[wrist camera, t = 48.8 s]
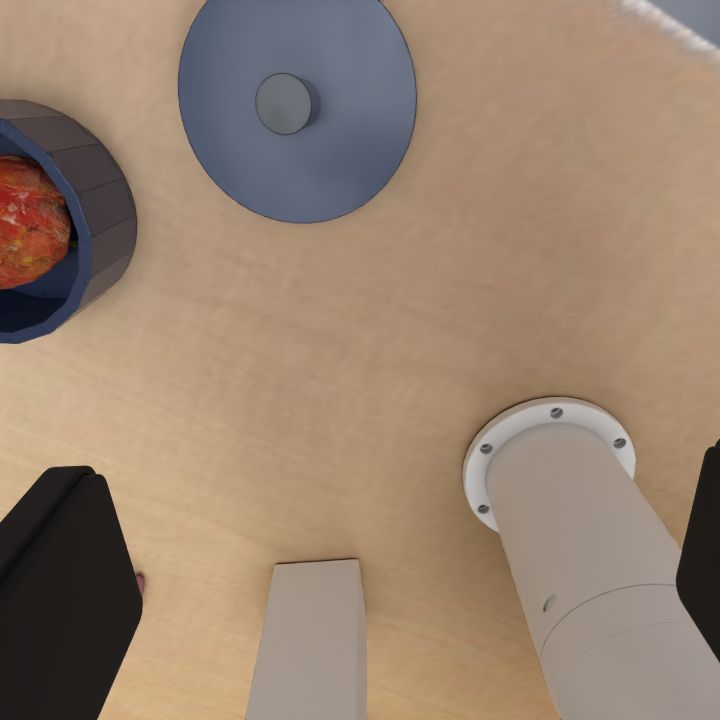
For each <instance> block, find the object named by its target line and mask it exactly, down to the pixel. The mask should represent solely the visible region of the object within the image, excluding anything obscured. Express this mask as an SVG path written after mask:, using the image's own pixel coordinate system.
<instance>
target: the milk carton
mask: <svg viewBox="0 0 720 720" xmlns="http://www.w3.org/2000/svg"><path fill="white" fill-rule="evenodd" d="M245 720H367V620H366V612H365V604H364V596H363V588H362V581H361V573H360V565H359V560H357V559H353V560H338V561H323V562H308V563H294V564H280V565H275V566H274V571H273V576H272V581H271V586H270V592H269V597H268V602H267V607H266V612H265V618H264V623H263V628H262V633H261V638H260V644H259V649H258V654H257V659H256V665H255V670H254V675H253V680H252V685H251V691H250V696H249V701H248V706H247V712H246V717H245Z"/></svg>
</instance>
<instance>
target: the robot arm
mask: <svg viewBox="0 0 720 720" xmlns="http://www.w3.org/2000/svg"><path fill="white" fill-rule="evenodd" d="M635 466H636V457H635V452H634V446H633V444H632V442H631V440H630V438H629V435H628V434H627V432H626V431H625V430H624V428H623V427H622V426H621V424H620V423H619V422H618V421H617V420H616V419H615V418H614V417H613V416H612V415H611V414H610V413H609V412H607V411H605V410H604V409H602V408H601V407H599V406H597V405H595V404H592V403H589V402H587V401H584V400H580V399H574V398H568V397H547V398H541V399H535V400H531V401H528V402H525V403H522V404H519V405H516V406H514V407H512V408H510V409H508V410H506V411H504V412H503V413H501V414H499V415H498V416H497V417H495V418H494V419H493V420H491V421H490V422H489V423H488V424H487V425H486V426H485V427H484V428H483V429H482V430H481V431H480V432H479V433H478V434H477V436H476V437H475V439H474V440H473V442H472V443H471V445H470V447H469V449H468V451H467V454H466V457H465V459H464V464H463V471H462V477H463V487H464V490H465V494H466V498H467V501H468V503H469V505H470V507H471V509H472V511H473V512H474V513H475V514H476V516H477V517H478V518H479V519H480V520H481V521H482V522H483V523H484V524H485V525H487V526H488V527H489V528H490V529H492V530H494V531H496V532H498V533H499V534H500V538H501V541H502V544H503V547H504V551H505V554H506V557H507V560H508V563H509V567H510V570H511V573H512V576H513V580H514V583H515V586H516V589H517V592H518V596H519V599H520V602H521V605H522V608H523V612H524V615H525V618H526V621H527V625H528V628H529V631H530V634H531V637H532V641H533V644H534V647H535V650H536V653H537V657H538V660H539V663H540V666H541V670H542V672H543V675H544V679H545V682H546V685H547V688H548V691H549V694H550V697H551V700H552V702H553V704H554V707H555V709H556V711H557V713H558V714H559V716H560V718H561V720H720V439H719V440H718V441H717V442H716V445H715V447H710V448H708V450H707V451H706V453H705V456H704V460H703V464H702V468H701V472H700V477H699V481H698V485H697V489H696V493H695V498H694V502H693V506H692V510H691V515H690V519H689V523H688V527H687V531H686V536H685V540H684V544H683V548H682V549H681V548H680V547H679V545H678V544H677V542H676V541H675V539H674V538H673V537H672V535H671V534H670V532H669V531H668V530H667V528H666V527H665V525H664V524H663V522H662V521H661V520H660V518H659V517H658V515H657V514H656V513H655V511H654V510H653V508H652V507H651V505H650V504H649V503H648V501H647V500H646V498H645V497H644V496H643V494H642V493H641V491H640V490H639V488H638V487H637V486H636V484H635V483H634V481H633V478H634V475H635ZM142 607H143V602H142V595H141V592H140V589H139V586H138V582H137V579H136V576H135V573H134V569H133V566H132V563H131V559H130V556H129V553H128V550H127V546H126V543H125V540H124V537H123V533H122V530H121V527H120V524H119V520H118V517H117V514H116V511H115V507H114V504H113V501H112V497H111V494H110V491H109V488H108V484H107V482H106V479H105V478H104V476H103V475H100V474H96V473H95V471H94V470H93V469H92V468H91V467H90V466H65V467H52V468H48V469H47V470H46V471H45V472H44V473H43V474H42V475H41V476H40V477H39V479H38V480H37V481H36V482H35V483H34V484H33V485H32V487H31V488H30V489H29V490H28V491H27V492H26V494H25V495H24V496H23V497H22V498H21V499H20V501H19V502H18V503H17V504H16V505H15V506H14V507H13V509H12V510H11V511H10V512H9V513H8V514H7V516H6V517H5V518H4V519H3V520H2V521H1V522H0V720H97V719H98V717H99V714H100V712H101V710H102V707H103V705H104V703H105V701H106V698H107V696H108V694H109V691H110V689H111V687H112V684H113V682H114V680H115V677H116V675H117V673H118V671H119V668H120V666H121V664H122V661H123V659H124V657H125V654H126V652H127V650H128V647H129V645H130V643H131V641H132V638H133V636H134V634H135V631H136V629H137V627H138V624H139V622H140V619H141V615H142Z"/></svg>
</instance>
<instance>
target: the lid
mask: <svg viewBox="0 0 720 720" xmlns="http://www.w3.org/2000/svg"><path fill="white" fill-rule="evenodd" d="M178 97H179V106H180V113H181V117H182V121H183V125H184V129H185V132H186V134H187V137H188V140H189V143H190V145H191V147H192V149H193V151H194V153H195V155H196V157H197V159H198V160H199V162H200V163H201V165H202V166H203V168H204V170H205V171H206V172H207V174H208V175H209V176H210V177H211V178H212V180H213V181H214V182H215V183H216V184H217V185H218V186H219V187H220V188H221V189H222V190H223V191H224V192H225V193H226V194H227V195H228V196H230V197H231V198H232V199H234V200H235V201H236V202H238V203H239V204H240V205H242V206H244V207H246V208H247V209H249V210H251V211H253V212H255V213H257V214H260V215H262V216H264V217H267V218H271V219H274V220H278V221H282V222H289V223H316V222H324V221H328V220H331V219H335V218H338V217H341V216H343V215H346V214H348V213H350V212H352V211H354V210H356V209H357V208H359V207H361V206H363V205H364V204H365V203H366V202H368V201H369V200H370V199H372V198H373V197H374V196H375V195H376V194H377V193H378V192H379V191H380V190H381V189H382V188H383V187H384V186H385V185H386V184H387V183H388V181H389V180H390V179H391V177H392V176H393V175H394V173H395V172H396V170H397V168H398V167H399V165H400V163H401V162H402V160H403V157H404V155H405V153H406V150H407V148H408V146H409V143H410V139H411V136H412V132H413V128H414V122H415V116H416V103H417V92H416V78H415V73H414V68H413V63H412V59H411V56H410V53H409V50H408V47H407V44H406V42H405V40H404V37H403V35H402V33H401V31H400V29H399V27H398V25H397V24H396V22H395V21H394V19H393V17H392V16H391V14H390V13H389V11H388V10H387V9H386V8H385V7H384V5H383V4H382V3H381V2H380V0H207V2H206V3H205V4H204V6H203V7H202V8H201V10H200V11H199V13H198V15H197V16H196V18H195V20H194V22H193V23H192V25H191V27H190V30H189V32H188V35H187V37H186V40H185V43H184V46H183V50H182V54H181V58H180V65H179V73H178Z"/></svg>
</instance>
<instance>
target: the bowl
mask: <svg viewBox="0 0 720 720" xmlns="http://www.w3.org/2000/svg"><path fill="white" fill-rule="evenodd" d="M0 154H13V155H17V156H20V157H24V158H28V159H31V160H33V161H34V162H36V163H37V164H39V165H40V166H42V168H43V169H44V170H45V172H46V173H47V174H48V176H49V177H50V178H51V180H52V181H53V182H54V184H55V185H56V187H57V188H58V189H59V191H60V192H61V193H62V195H63V196H64V197H65V200H66V202H67V205H68V215H69V217H70V224H71V234H70V238H69V240H77V241H78V248H75V247H72V246H69V247H68V251H67V254H66V256H65V258H64V259H62V260H60V261H59V262H58V263H57V264H56V265H55V266H54V267H53V268H52V269H51V270H50V271H48V272H47V273H45V275H44V276H43V277H41V278H39V279H38V280H36V281H33V282H29V283H26V284H22V285H19V286H17V287H13V288H9V289H0V343H7V344H17V343H18V344H20V343H23V342H26V341H29V340H32V339H35V338H38V337H41V336H44V335H47V334H50V333H52V332H54V331H55V330H56V329H58V328H59V327H60V326H62V325H63V324H64V323H66V322H67V321H68V320H70V319H71V318H72V317H74V316H75V315H76V314H78V313H79V312H80V311H82V310H83V309H84V308H86V307H87V306H88V305H90V304H91V303H92V302H94V301H95V300H96V299H98V298H99V297H100V296H101V295H102V294H103V293H105V292H106V291H107V290H108V289H109V288H110V287H112V286H113V285H114V284H115V283H116V282H117V281H118V280H119V279H120V278H121V276H122V275H123V273H124V271H125V270H126V268H127V267H128V265H129V262H130V260H131V258H132V255H133V251H134V248H135V244H136V235H137V218H136V211H135V205H134V201H133V198H132V194H131V191H130V189H129V186H128V184H127V181H126V179H125V177H124V175H123V173H122V171H121V170H120V168H119V166H118V164H117V163H116V161H115V160H114V159H113V157H112V156H111V154H110V153H109V152H108V151H107V149H106V148H105V147H104V146H103V145H102V144H101V143H100V141H99V140H98V139H97V138H95V137H94V136H93V135H92V134H91V133H90V132H89V131H88V130H87V129H85V128H84V127H83V126H81V125H80V124H78V123H77V122H76V121H74V120H73V119H71V118H69V117H67V116H66V115H64V114H62V113H60V112H58V111H56V110H54V109H51V108H49V107H46V106H43V105H40V104H36V103H33V102H29V101H25V100H2V99H0Z"/></svg>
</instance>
